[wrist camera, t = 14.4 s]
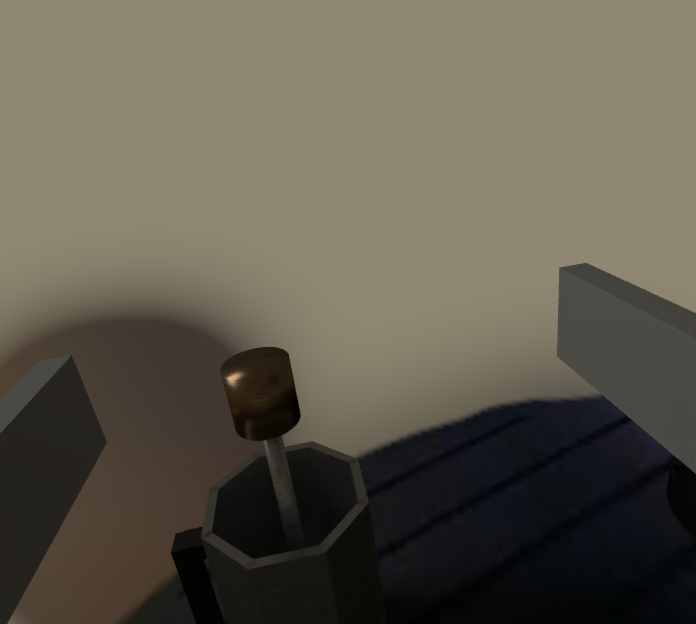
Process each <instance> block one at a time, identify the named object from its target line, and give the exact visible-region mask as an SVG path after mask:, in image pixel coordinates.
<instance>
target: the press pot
mask: <svg viewBox="0 0 696 624" xmlns="http://www.w3.org/2000/svg"><path fill="white" fill-rule="evenodd" d="M284 448H285V453H286V457H287V462H288V466H289V471H290V475H291V480H292V484H293V489H294V494H295V498H296V503H297V507H298V512H299V516H300V521H301V525H302V530H303V534H304V539H305V544H306V548H304V549H299V550H295V551H290V552H289V549H288V545H287V540H286V536H285V532H284V528H283V524H282V519H281V515H280V511H279V507H278V503H277V498H276V494H275V490H274V486H273V482H272V478H271V473H270V469H269V465H268V461H267V457H266V452H265V451H262V452H256V453H255V454H253V455H252V456H251V457H250V458H248V459H247V460H246V461H245V462H243V463H242V464H241V465H239V466H238V467H237V468H236V469H234V470H233V471H232V472H231V473H229V474H228V475H227V476H226V477H224V478H223V479H222V480H220V481H219V482H218V483H217V484H215V485H214V486H213V487H212V488H210V492H209V497H208V503H207V508H206V513H205V519H204V524H203V527H200V528H195V529H190V530H185V531H184V532H181V533H176V535H175V539H174V543H173V547H172V551H171V554H172V557H173V560H174V563H175V565H176V568H177V571H178V574H179V576H180V579H181V582H182V585H183V588H184V590H185V593H186V596H187V599H188V601H189V604H190V607H191V610H192V612H193V615H194V618H195V621H196V624H387V620H386V613H385V607H384V600H383V593H382V586H381V580H380V573H379V566H378V559H377V553H376V546H375V539H374V532H373V526H372V519H371V512H370V505H369V502H368V498H367V494H366V490H365V486H364V482H363V478H362V474H361V470H360V466H359V460H358V459H356V458H354V457H351V456H349V455H346V454H343V453H341V452H338V451H336V450H333V449H330V448H328V447H325V446H322V445H320V444H317V443H315V442H307V443H302V444H297V445H292V446H287V447H284ZM203 559H208V562H209V565H210V568H211V571H212V574H213V577H214V580H215V583H216V586H217V589H218V593H219V596H220V599H221V602H222V605H223V608H224V611H225V614H226V617H227V619H226V620H223V617H222V614H221V611H220V608H219V605H218V602H217V599H216V596H215V593H214V590H213V587H212V584H211V581H210V578H209V575H208V572H207V569H206V566H205V563H204V560H203Z"/></svg>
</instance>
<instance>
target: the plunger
mask: <svg viewBox="0 0 696 624" xmlns="http://www.w3.org/2000/svg"><path fill="white" fill-rule="evenodd" d="M220 372H221V376H222V380H223V383H224V387H225V391H226V395H227V399H228V402H229V406H230V410H231V414H232V418H233V422H234V426H235V429H236V432H237V434H238V435H239V436H241V437H242V438H244V439H247V440H253V441H263V443H264V448H265V452H266V457H267V461H268V465H269V469H270V473H271V478H272V482H273V486H274V490H275V494H276V498H277V503H278V507H279V511H280V515H281V519H282V524H283V528H284V532H285V536H286V540H287V545H288V549H289V552H290V551H295V550H299V549H304V548H306V544H305V539H304V534H303V530H302V525H301V521H300V516H299V512H298V507H297V503H296V498H295V494H294V489H293V484H292V480H291V475H290V471H289V466H288V462H287V457H286V453H285V448H284V444H283V439H282V435H283V434H285V433H287V432H288V431H290V430H291V429H292V428H294V427H295V426H296V425H297V423H298V421H299V419H300V415H301V414H300V409H299V404H298V399H297V394H296V389H295V384H294V379H293V374H292V369H291V364H290V359H289V354H288V353H287V352H286V351H285V350H283V349H280V348H276V347H261V348H255V349H251V350H247V351H244V352H241V353H239V354H236V355H234V356H233V357H231V358H229V359H228V360H227V361H226V362H224V364H223V365H222V366H221V369H220Z"/></svg>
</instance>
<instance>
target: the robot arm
mask: <svg viewBox="0 0 696 624" xmlns="http://www.w3.org/2000/svg"><path fill="white" fill-rule="evenodd" d="M558 306H559V307H558V342H557V346H558V347H557V356H558V357H559V358H560V359H561V360H562V361H564V362H565V363H566V364H567V365H568V366H569V367H570V368H572V369H573V370H574V371H575V372H576V373H578V374H579V375H580V376H581V377H582V378H583V379H585V380H586V381H587V382H588V383H589V384H590V385H592V386H593V387H594V388H595V389H596V390H598V391H599V392H600V393H601V394H602V395H603V396H605V397H606V398H607V399H608V400H609V401H610V402H612V403H613V404H614V405H615V406H616V407H618V408H619V409H620V410H621V411H622V412H623V413H625V414H626V415H627V416H628V417H629V418H631V419H632V420H633V421H634V422H635V423H636V424H638V425H639V426H640V427H641V428H642V429H644V430H645V431H646V432H647V433H648V434H649V435H651V436H652V437H653V438H654V439H655V440H657V441H658V442H659V443H660V444H661V445H662V446H664V447H665V448H666V449H667V450H668V451H670V452H671V453H672V454H673V455H674V456H675V457H677V458H676V459H675V461H674V462H673V464H672V466H671V469H670V472H669V478H668V485H667V497H668V501H669V504H670V506H671V509H672V510H673V512H674V514H675V515H676V517H677V518H678V520H679V521H680V522H681V523H682V524H683V526H684V527H685V528H686V529H687V530H688V531H689V532H690V533H691V534H692V535H694V536H695V537H696V313H694V312H692V311H690V310H688V309H685V308H683V307H681V306H679V305H677V304H674V303H672V302H670V301H668V300H665V299H664V298H661V297H659V296H657V295H655V294H653V293H650V292H648V291H646V290H644V289H642V288H640V287H637V286H635V285H633V284H631V283H629V282H626V281H624V280H622V279H620V278H618V277H615V276H613V275H611V274H609V273H607V272H605V271H603V270H600V269H598V268H596V267H594V266H591V265H589V264H587V263H583V264H577V265H572V266H566V267H561V268H559V304H558ZM106 443H107V442H106V439H105V436H104V434H103V431H102V429H101V426H100V424H99V422H98V419H97V417H96V414H95V412H94V409H93V407H92V404H91V402H90V399H89V397H88V394H87V392H86V389H85V387H84V384H83V382H82V380H81V377H80V375H79V372H78V370H77V367H76V365H75V362H74V360H73V358H72V355H70V356H65V357H59V358H53V359H48V360H42V361H40V362H39V363H38V364H37V365H36V366H35V367H34V368H33V369H32V370H31V371H30V372H29V373H28V374H27V375H26V376H25V377H24V378H23V379H22V380H21V381H20V382H19V383H18V384H17V385H16V386H15V387H14V388H13V389H12V390H11V391H10V392H9V393H8V394H7V395H6V396H5V397H4V398H3V399H1V401H0V624H7V623H8V621H9V619H10V618H11V616H12V614H13V612H14V610H15V609H16V607H17V605H18V603H19V601H20V599H21V598H22V596H23V594H24V592H25V590H26V589H27V587H28V585H29V583H30V581H31V579H32V578H33V576H34V574H35V572H36V570H37V569H38V567H39V565H40V563H41V561H42V560H43V558H44V556H45V554H46V552H47V550H48V548H49V547H50V545H51V543H52V541H53V540H54V538H55V536H56V534H57V532H58V531H59V528H60V527H61V525H62V523H63V521H64V520H65V518H66V516H67V514H68V512H69V511H70V509H71V507H72V505H73V503H74V501H75V500H76V498H77V496H78V494H79V492H80V491H81V489H82V487H83V485H84V483H85V481H86V480H87V478H88V476H89V474H90V472H91V471H92V469H93V467H94V465H95V463H96V461H97V460H98V458H99V456H100V454H101V452H102V451H103V449H104V447H105V445H106Z"/></svg>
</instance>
